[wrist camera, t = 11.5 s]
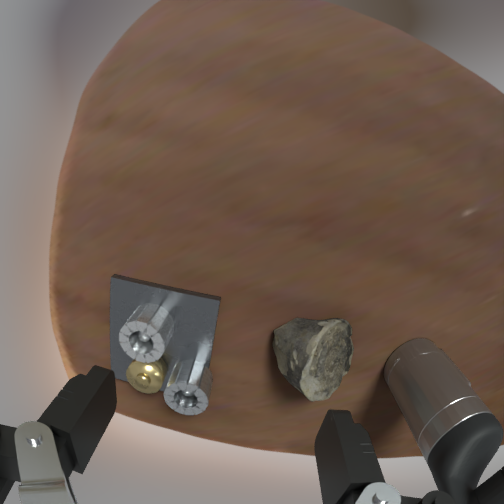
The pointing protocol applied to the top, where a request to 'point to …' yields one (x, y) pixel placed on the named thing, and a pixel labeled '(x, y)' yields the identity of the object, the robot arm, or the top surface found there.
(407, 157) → the top surface
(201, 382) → the grey hollow pipe
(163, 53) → the top surface
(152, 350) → the planet gear
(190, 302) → the carrier
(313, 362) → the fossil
